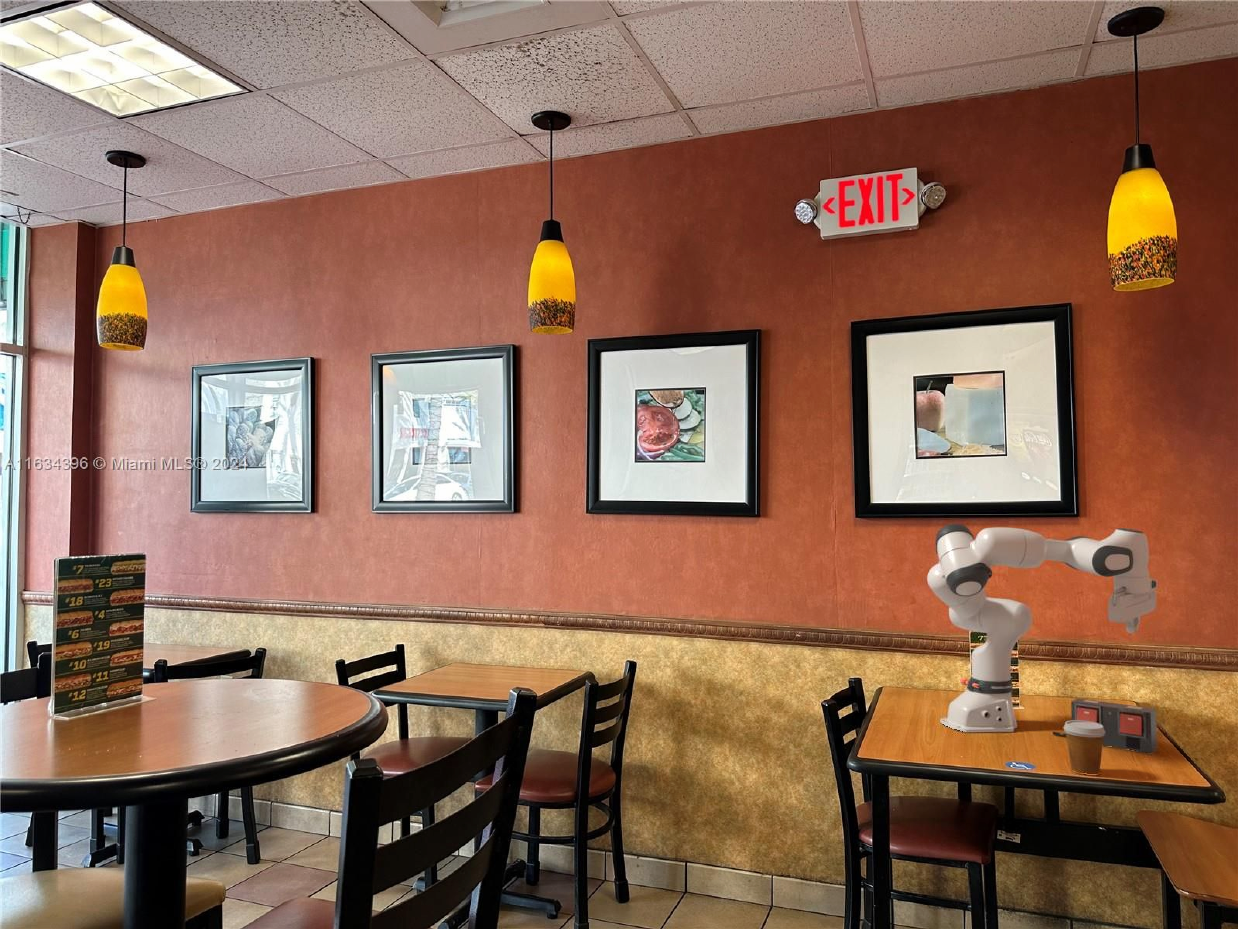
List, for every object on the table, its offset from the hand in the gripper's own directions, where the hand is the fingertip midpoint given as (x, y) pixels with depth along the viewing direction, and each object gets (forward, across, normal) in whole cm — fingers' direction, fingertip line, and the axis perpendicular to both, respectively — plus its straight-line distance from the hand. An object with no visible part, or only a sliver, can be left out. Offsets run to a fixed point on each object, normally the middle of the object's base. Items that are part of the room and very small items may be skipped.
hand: (1132, 632), depth 251 cm
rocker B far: (+24, -15, -6) cm, 29 cm away
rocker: (+25, -17, +4) cm, 31 cm away
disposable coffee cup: (+27, -42, -8) cm, 50 cm away
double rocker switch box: (+30, -13, +3) cm, 33 cm away
